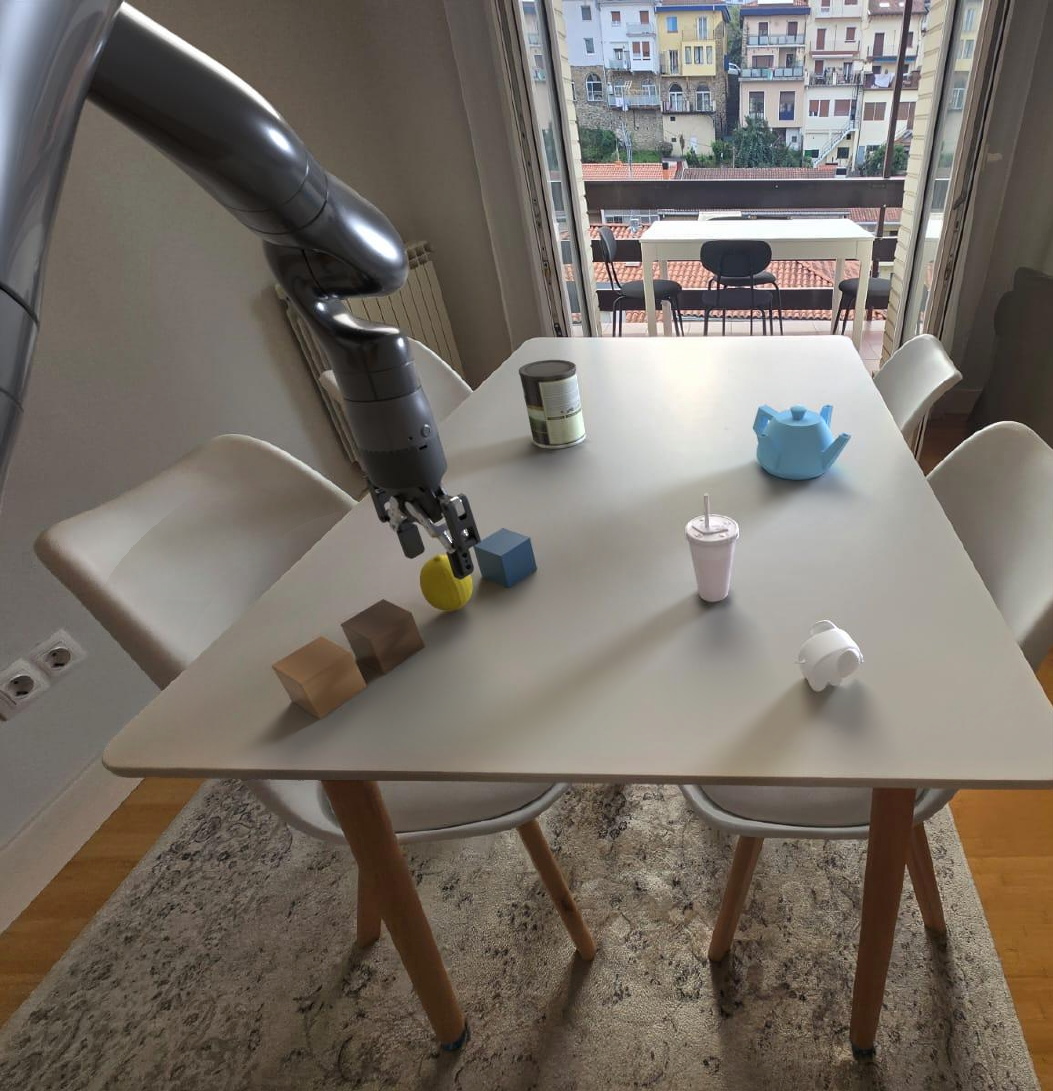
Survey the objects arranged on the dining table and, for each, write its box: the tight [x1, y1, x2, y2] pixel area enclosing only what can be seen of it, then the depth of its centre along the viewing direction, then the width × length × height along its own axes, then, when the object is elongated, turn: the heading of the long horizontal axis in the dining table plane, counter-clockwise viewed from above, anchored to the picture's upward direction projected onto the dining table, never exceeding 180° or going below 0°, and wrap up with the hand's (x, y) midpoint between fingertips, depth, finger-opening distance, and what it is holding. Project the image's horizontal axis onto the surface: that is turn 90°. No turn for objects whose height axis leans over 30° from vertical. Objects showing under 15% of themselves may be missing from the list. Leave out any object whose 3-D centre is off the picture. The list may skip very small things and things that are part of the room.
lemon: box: [419, 554, 474, 612], centre depth 71 cm, size 6×6×8 cm
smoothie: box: [684, 493, 740, 603], centre depth 72 cm, size 6×6×14 cm
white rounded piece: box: [793, 619, 865, 692], centre depth 61 cm, size 7×8×6 cm
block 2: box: [340, 598, 426, 675], centre depth 65 cm, size 5×5×5 cm
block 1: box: [270, 635, 368, 720], centre depth 60 cm, size 5×5×5 cm
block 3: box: [472, 527, 538, 589], centre depth 78 cm, size 5×5×5 cm
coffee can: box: [518, 359, 587, 450], centre depth 114 cm, size 10×10×14 cm
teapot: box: [752, 404, 852, 481], centre depth 104 cm, size 15×15×11 cm
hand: (439, 565), depth 69 cm, fingers open, 8 cm apart
